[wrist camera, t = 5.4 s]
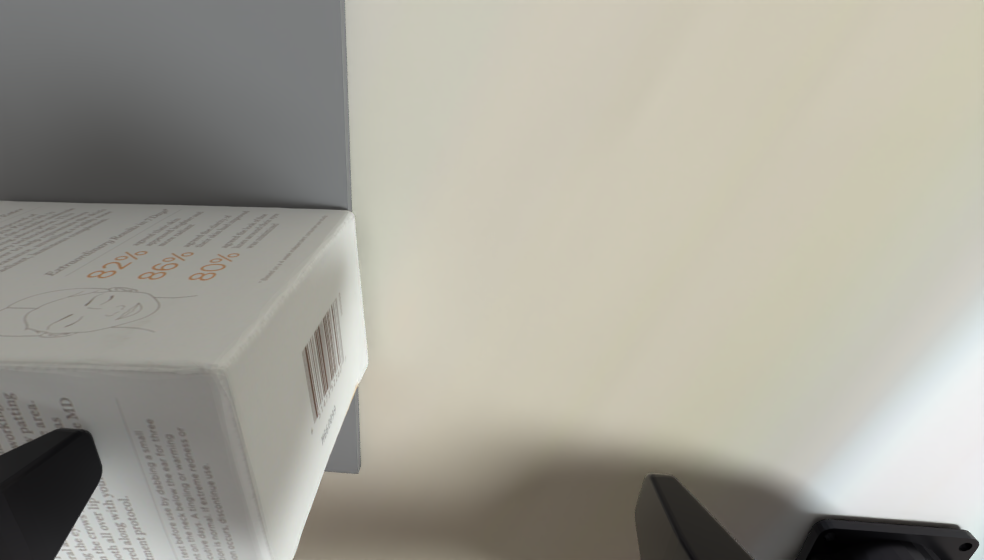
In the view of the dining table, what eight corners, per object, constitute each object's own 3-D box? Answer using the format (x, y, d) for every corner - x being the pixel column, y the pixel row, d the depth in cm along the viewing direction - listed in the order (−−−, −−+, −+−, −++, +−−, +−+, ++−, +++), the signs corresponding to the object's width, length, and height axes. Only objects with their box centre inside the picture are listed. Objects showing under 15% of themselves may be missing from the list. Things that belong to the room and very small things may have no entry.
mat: (341, -98, 12) (336, -102, 12) (360, 465, 20) (358, 473, 20) (-138, -147, 12) (-158, -153, 11) (73, 443, 20) (65, 451, 19)
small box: (375, 363, 17) (69, 354, 17) (357, 204, 15) (2, 196, 15) (278, 604, 10) (-238, 582, 10) (214, 372, 8) (-466, 351, 8)
